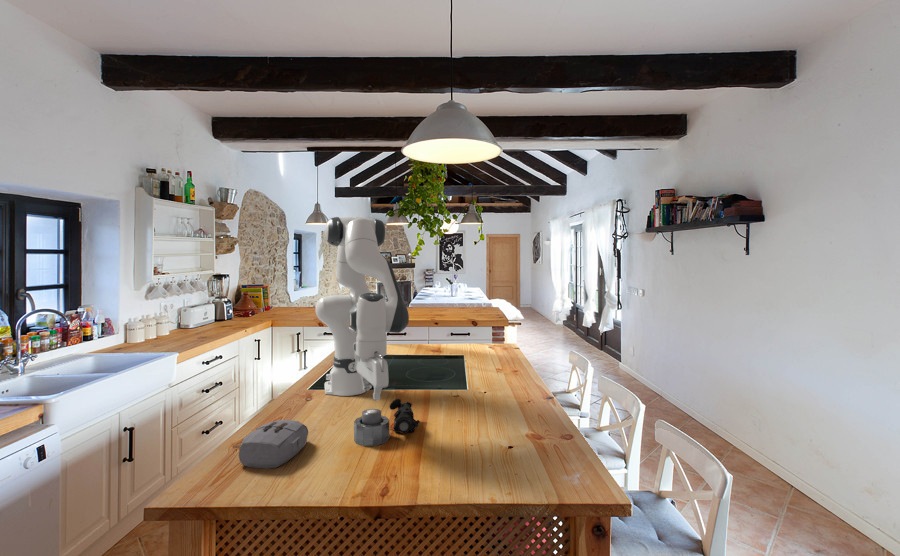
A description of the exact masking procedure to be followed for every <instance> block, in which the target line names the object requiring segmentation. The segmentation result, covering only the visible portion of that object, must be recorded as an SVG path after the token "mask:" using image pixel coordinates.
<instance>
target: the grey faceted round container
mask: <svg viewBox="0 0 900 556" xmlns="http://www.w3.org/2000/svg"><path fill="white" fill-rule="evenodd" d="M389 439H390V418H388V416H385V415H382V414H381V423H380V424H376V425H364V424H362V415H361V416H358V417H357V418H355V419H354V421H353V441H354V442H355V443H356V445H360V446H362V445H363V446H362V447H375V446H379V445H383V444H385V443H387V442H388V441H389Z"/></svg>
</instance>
